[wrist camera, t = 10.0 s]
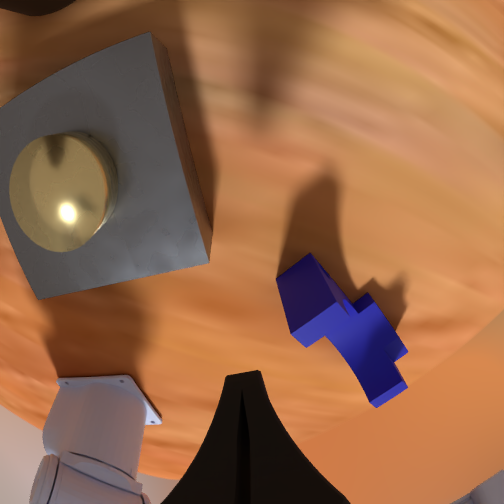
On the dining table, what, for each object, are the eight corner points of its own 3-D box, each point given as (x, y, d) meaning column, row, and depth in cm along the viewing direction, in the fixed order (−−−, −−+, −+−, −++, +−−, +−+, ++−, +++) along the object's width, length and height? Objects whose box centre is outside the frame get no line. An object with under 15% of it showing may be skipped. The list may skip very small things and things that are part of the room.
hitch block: (62, 270, 19) (38, 300, 16) (12, 120, 14) (-24, 126, 11) (212, 233, 19) (209, 262, 15) (166, 48, 14) (150, 31, 10)
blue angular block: (394, 330, 24) (423, 376, 19) (354, 358, 25) (376, 408, 20) (326, 237, 20) (360, 283, 15) (275, 277, 21) (290, 334, 16)
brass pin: (77, 224, 18) (35, 263, 13) (50, 147, 15) (-3, 164, 10) (150, 199, 17) (120, 234, 12) (123, 113, 15) (80, 114, 10)
